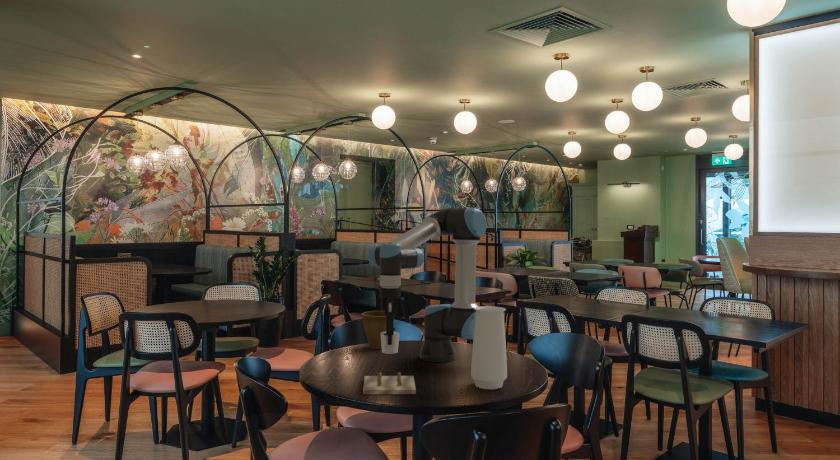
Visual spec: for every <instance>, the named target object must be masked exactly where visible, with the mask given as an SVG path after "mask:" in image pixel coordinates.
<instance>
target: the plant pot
mask: <svg viewBox="0 0 840 460" xmlns="http://www.w3.org/2000/svg"><path fill="white" fill-rule="evenodd" d="M361 317H362V323H363V328H364V329H363V330H364V332H365V337H366V340H367V343H368V345H369V347H370V349H373V350H382V347H381V335H380V333H381V332H383V331H386V316H385V310H371V311H365V312H362V313H361ZM394 318H395V316H394V317H393V320H394Z"/></svg>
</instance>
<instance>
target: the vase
mask: <svg viewBox="0 0 840 460" xmlns="http://www.w3.org/2000/svg"><path fill="white" fill-rule="evenodd" d="M474 310H476V317H475V327H474V338H473V339H472V353H471V364H470V365H471V366H470V376H471V379H473V381H474V386H475V387H477V388H478V387H479V389H482V390H497V389H498V388H499V389H501V388H503V386H504V382H505V380H506V379H507V378H508V361H507V344H506V343H507V342H506V330H505V329H506V328H505V327H506V326H505V313H504V312H505V311H506V310H507V309H506V307H501V306H496V305H495V306H493V305H486V306H485V305H482V306H480V305H479V307H475V308H474Z"/></svg>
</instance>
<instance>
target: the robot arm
mask: <svg viewBox="0 0 840 460" xmlns="http://www.w3.org/2000/svg"><path fill="white" fill-rule="evenodd" d="M487 227H488V226H487V219H486V216H485V214H484V213H483V212H482V210H480V209H479V208H476V207H475V208H474V207H448V208H444V209H443V208H442V209H441V210H438V211H436V212H434V213H432V214H430V215H428V216H426V217H425V218H423V220H422V222H421V223H419V224H418V225H416V226H414V227H412V228H411V229H409V230H407V231H405V232H404V233H402V234H400V235H399V236H398V237H395V238H393V239H391V240H390V241H388V242H386V243H382V244H380V245H376V246H372V247H370V248H369V249H368V252H367V260H368V262H369V264H370V265H372V266H375V267H378V268H379V277H378V278H377V281H379V286H380V287H379V298H380V299H384V300H385V299H386V302H384V303H383V304H384V311H385V316H386V333H384V335H386V353H385V354H387V355H389V354H390V355H393V345H394V335H393V334H394V332H393V331H396V328H395V327H394V319H393V317H394V318H395V315H396V314H395V312H396V305H397V304H396V302H394V299H395V300H396V299H397V300H398V299H400V298H401V291H402V288H401V285H402V270H407V269H413V270H414V269H417V268H420V267H421V266H422V265H423V263H424V261H425V259H424V258H425V255H424V253H423V251H422V250H421V249H420V248H418V247H420V246H421V245H423V244H424V243H427V241H430V240H432V239H437V238H439V237H442V236H452V242H453V243H455V265H454V266H455V269H454V270H455V271H454V272H455V274H454V275H455V277H454V301H453V302H452V303H451V304H450V303H445V304H444V303H441V304H433V305H432V304H431V305H428V306H426V307H425V309H424V314H423V317H424V318H423V319H424V320H423V322H424V325H423V327H424V328H423V329H424V331H423V332H424V334H423V335H424V338H423V339H424V340H423V343H422V346H421V349H420V353H419V358H420V360H422V361H426V362H431V363H432V362H433V363H445V362H451V361H454V360H456V352H455V349H454V345H453V343H452V337H454V338H459V339H463V340H473V338H474V327H475V317H476V310H474V308H475V307H480V305H478V304H477V302H476V290H477V289H476V288H477V284H476V282H477V281H476V279H477V245H478V244H479V243H480V242H481V237H483V236H485V233H486V231H487Z"/></svg>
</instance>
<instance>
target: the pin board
mask: <svg viewBox="0 0 840 460" xmlns="http://www.w3.org/2000/svg"><path fill="white" fill-rule="evenodd" d="M382 373H383V372H377V375H364V381H363V387H362V388H363V389H362V395H416V393H417V391H416V390H417V389H416V388H417V387H416V383H415V377H414V375H402V373H401V372H396V375H382Z"/></svg>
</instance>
